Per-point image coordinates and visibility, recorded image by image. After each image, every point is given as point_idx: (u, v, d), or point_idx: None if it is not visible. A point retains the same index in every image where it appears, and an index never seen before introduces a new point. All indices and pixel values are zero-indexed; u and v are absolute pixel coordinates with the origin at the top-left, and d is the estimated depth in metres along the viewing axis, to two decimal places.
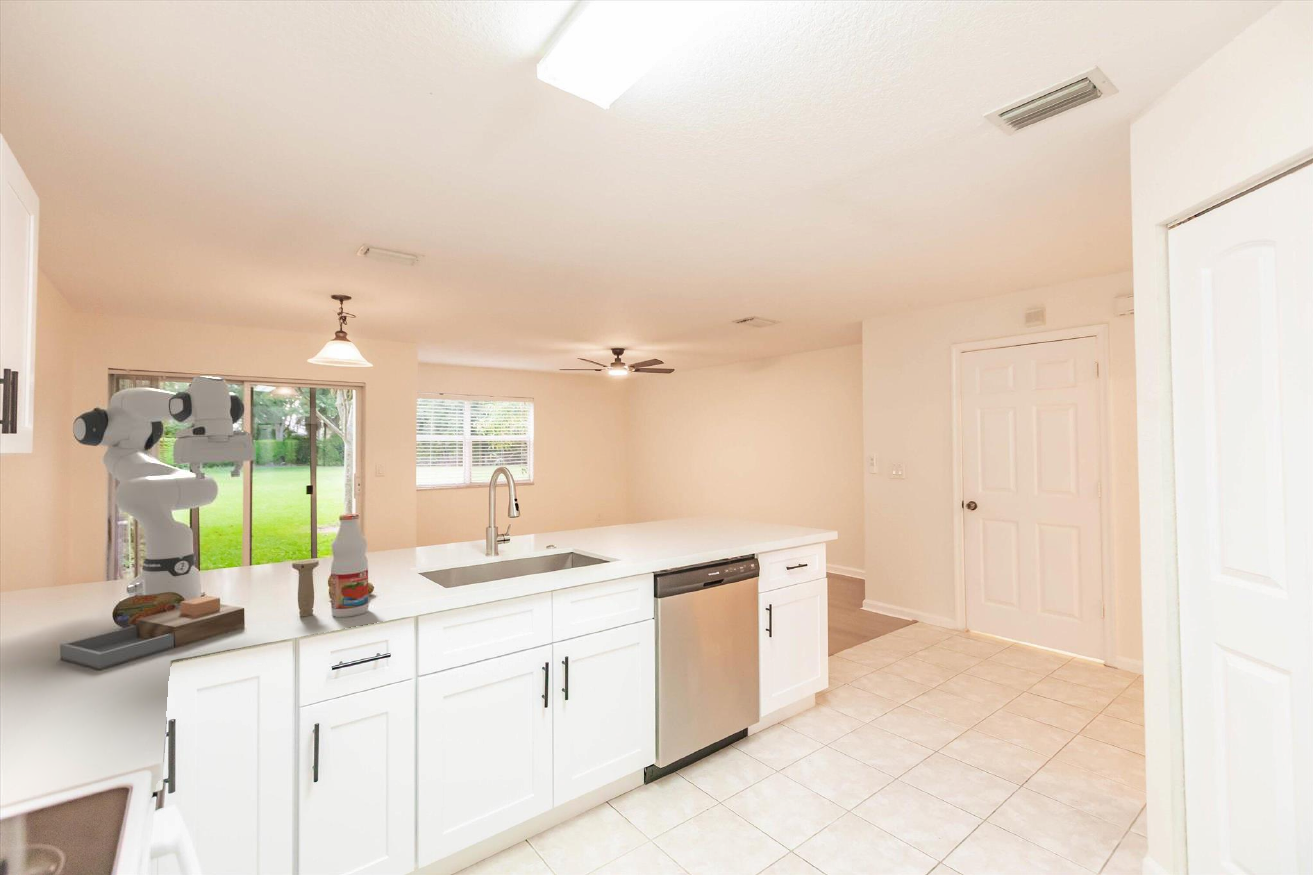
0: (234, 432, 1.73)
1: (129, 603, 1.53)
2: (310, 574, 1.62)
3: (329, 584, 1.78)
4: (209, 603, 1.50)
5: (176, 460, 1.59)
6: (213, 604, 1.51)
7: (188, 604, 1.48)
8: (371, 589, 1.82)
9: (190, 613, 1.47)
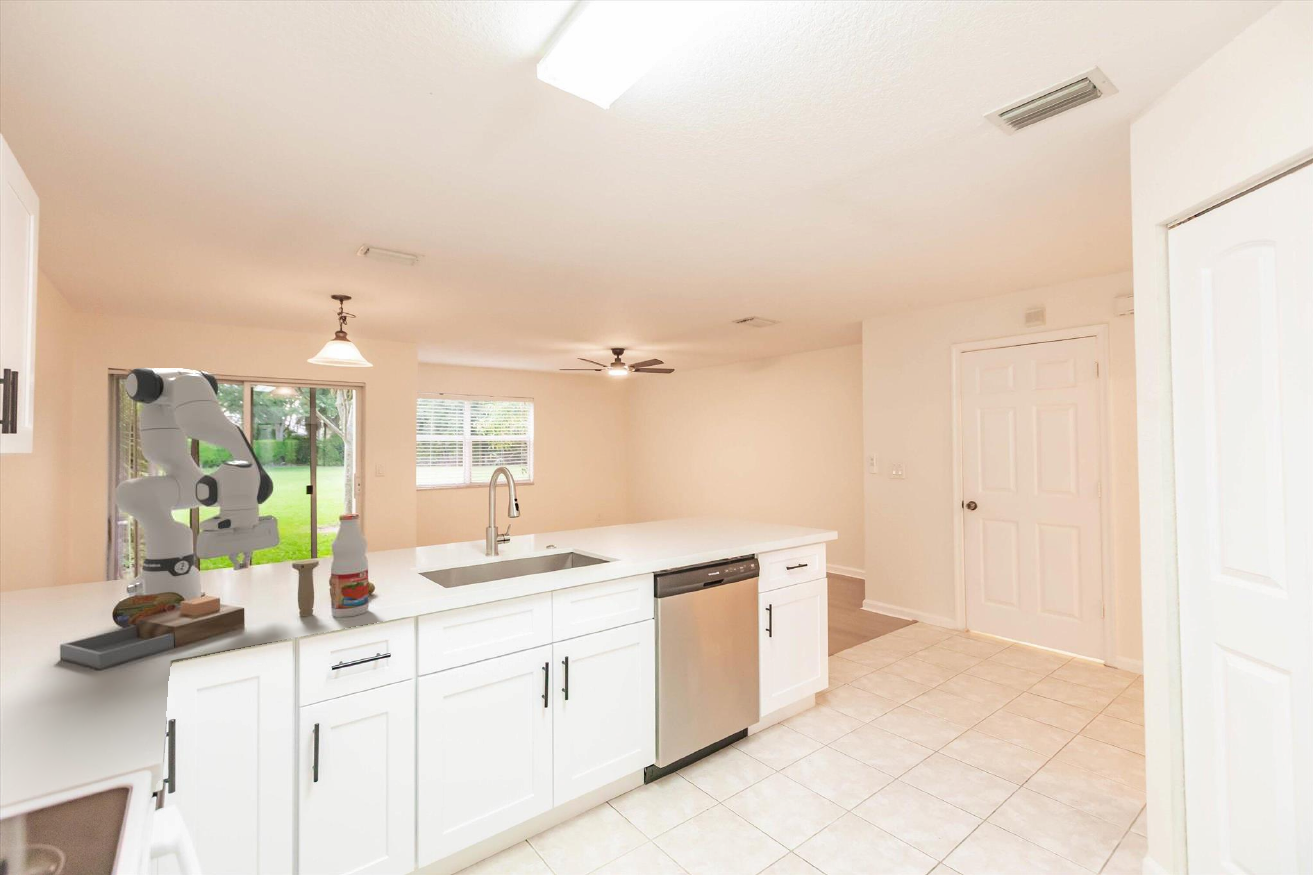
0: (259, 518, 1.64)
1: (129, 603, 1.53)
2: (310, 574, 1.62)
3: (330, 583, 1.79)
4: (209, 603, 1.50)
5: (199, 555, 1.51)
6: (213, 604, 1.51)
7: (188, 604, 1.48)
8: (372, 589, 1.82)
9: (190, 613, 1.47)
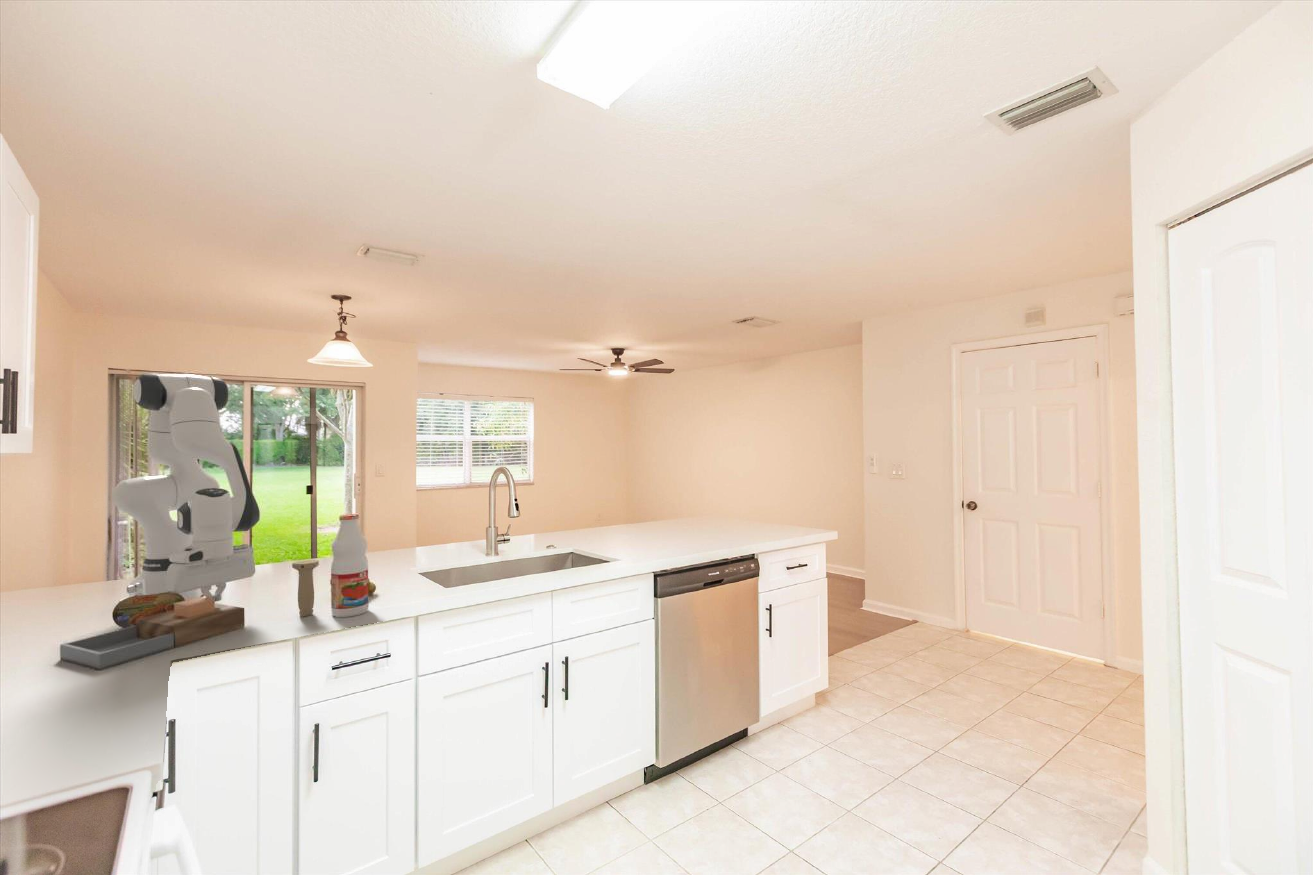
0: (234, 548, 1.58)
1: (129, 603, 1.53)
2: (310, 574, 1.62)
3: None
4: (203, 604, 1.49)
5: (168, 589, 1.44)
6: (208, 606, 1.50)
7: (182, 606, 1.46)
8: (373, 589, 1.82)
9: (184, 615, 1.46)
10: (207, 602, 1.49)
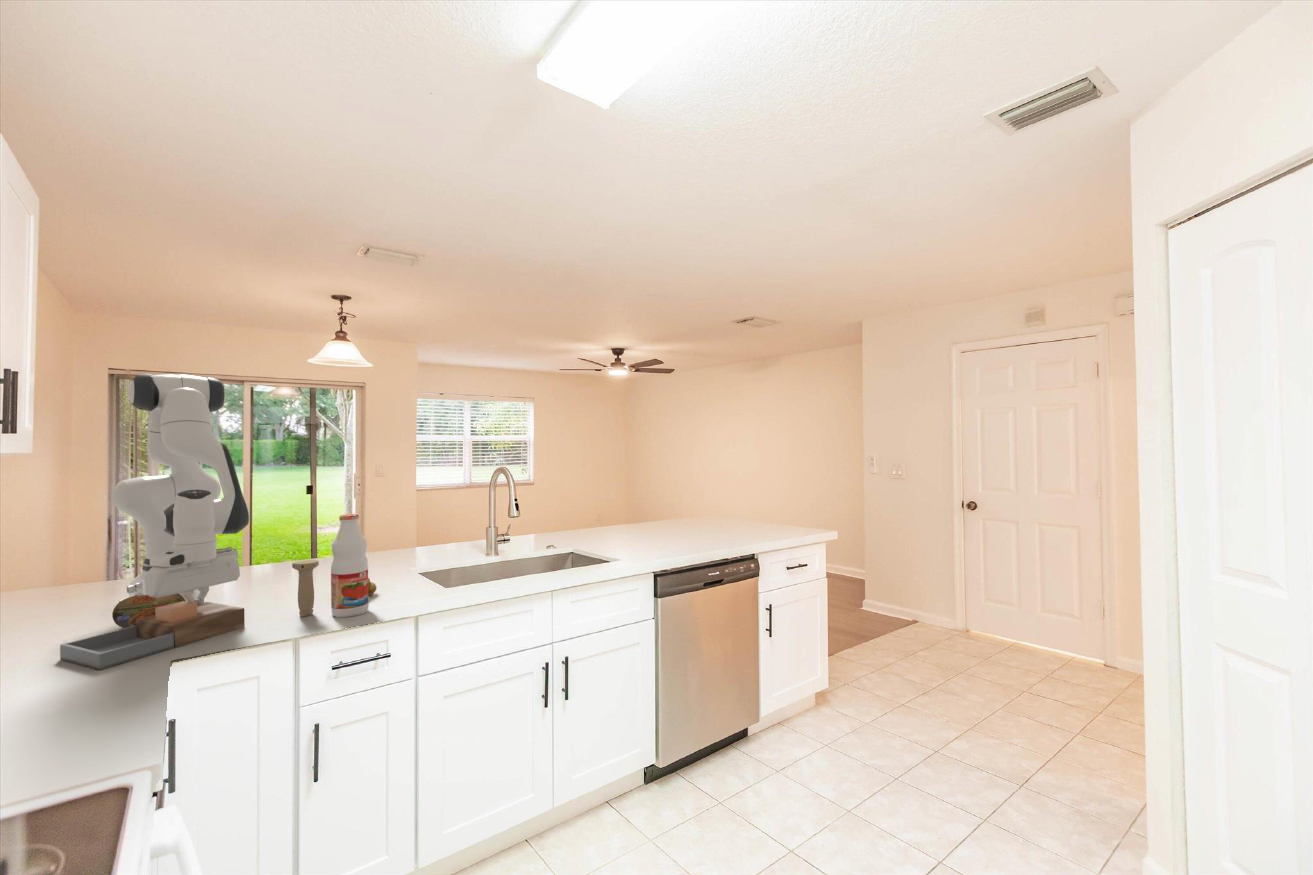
0: (218, 551, 1.54)
1: (129, 603, 1.53)
2: (310, 574, 1.62)
3: None
4: (185, 609, 1.45)
5: (149, 594, 1.41)
6: (190, 610, 1.46)
7: (163, 610, 1.43)
8: (373, 589, 1.82)
9: (165, 619, 1.42)
10: (189, 606, 1.46)
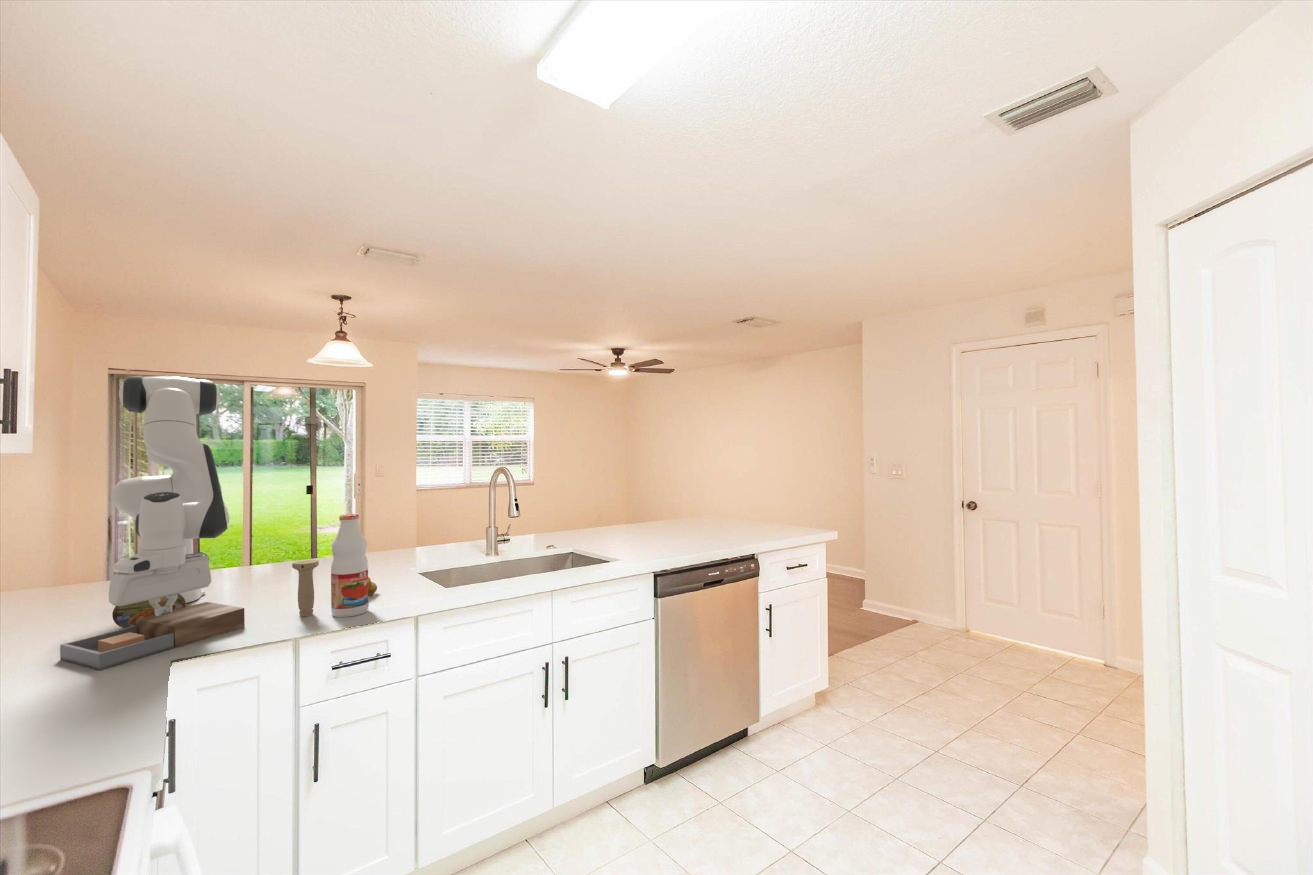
0: (187, 556, 1.48)
1: None
2: (310, 574, 1.62)
3: None
4: None
5: (111, 602, 1.34)
6: None
7: None
8: (374, 589, 1.82)
9: None
10: None
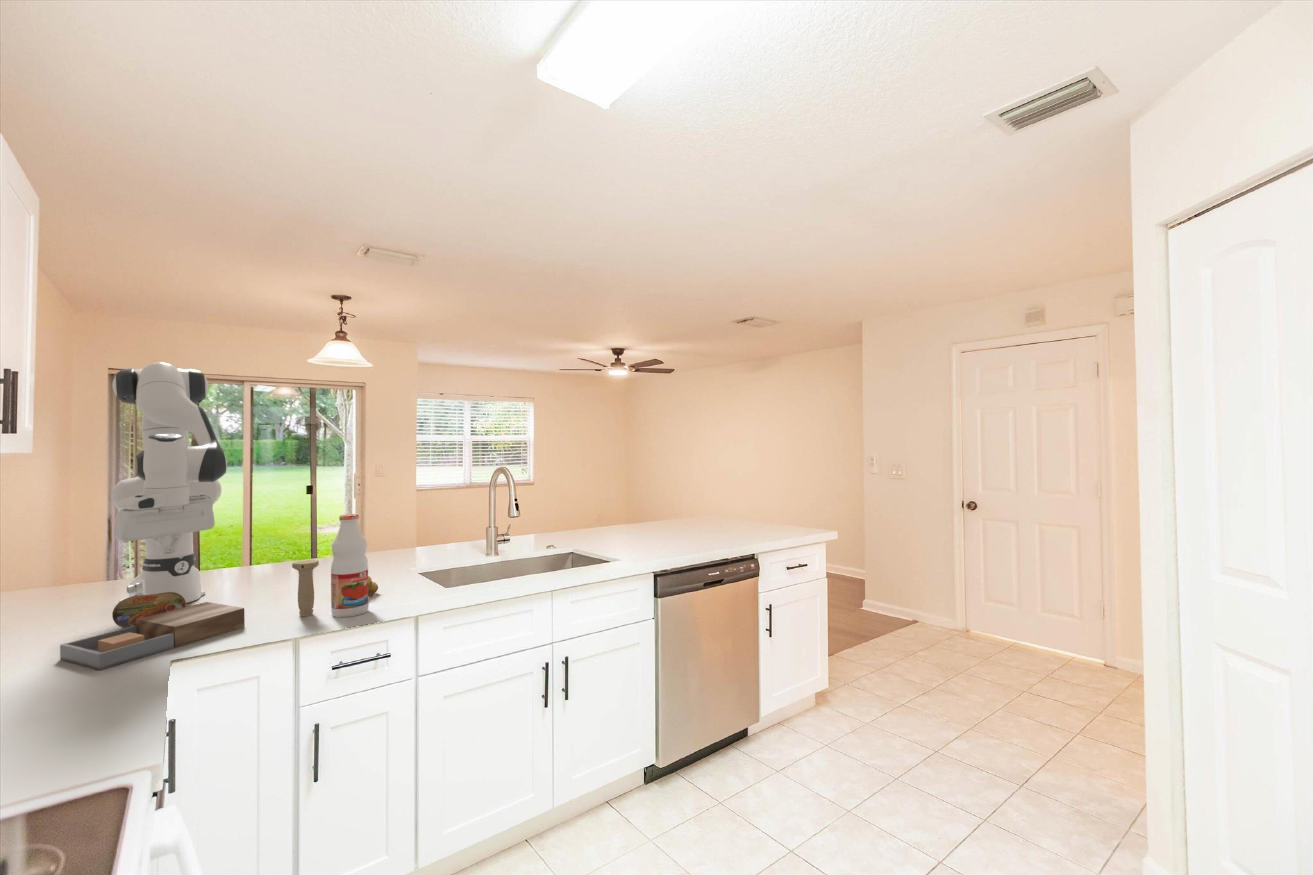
0: (191, 498, 1.49)
1: (129, 603, 1.53)
2: (310, 574, 1.62)
3: None
4: None
5: (116, 537, 1.36)
6: None
7: None
8: (375, 588, 1.83)
9: None
10: None
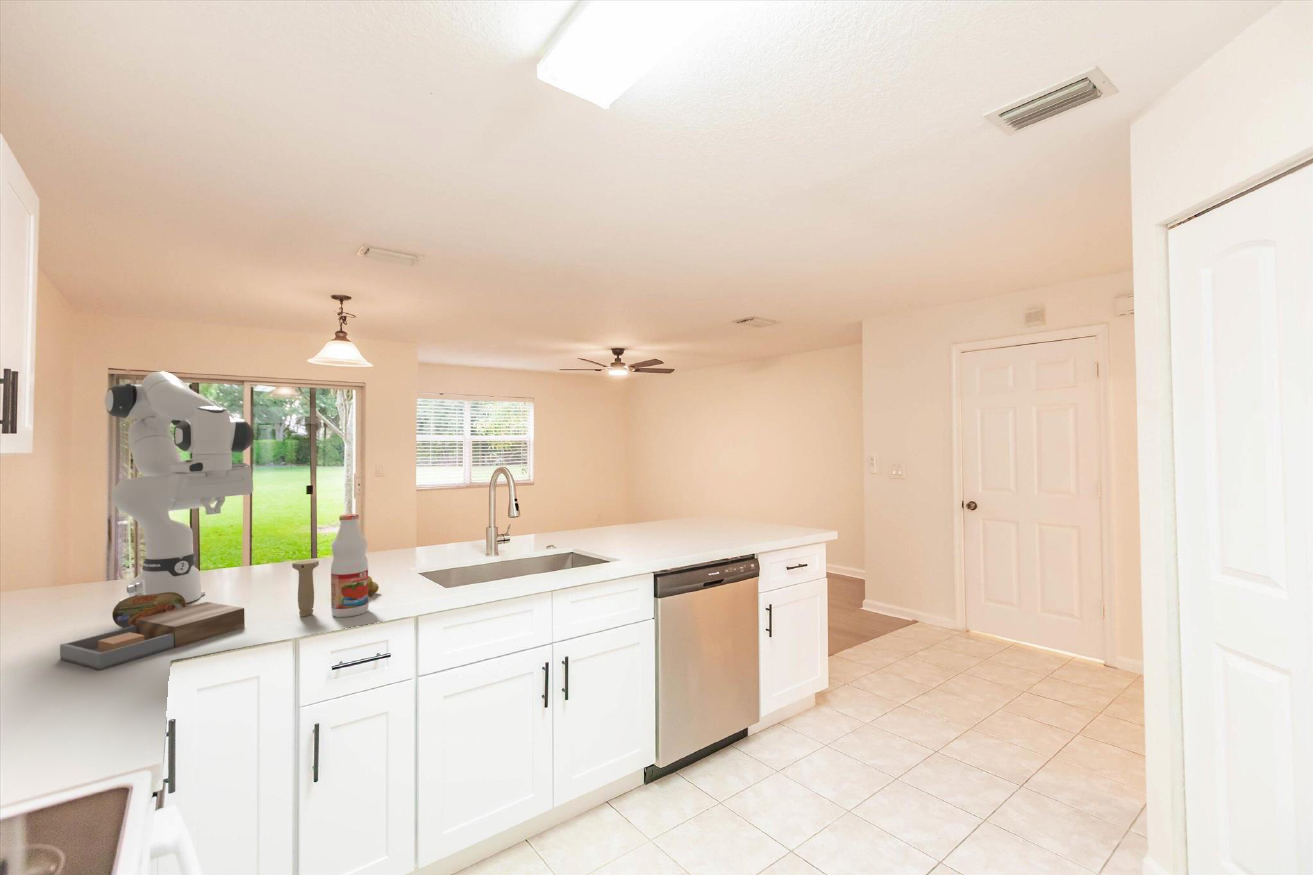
0: (233, 465, 1.65)
1: (129, 603, 1.53)
2: (310, 574, 1.62)
3: None
4: None
5: (170, 497, 1.52)
6: None
7: None
8: (375, 588, 1.83)
9: None
10: None
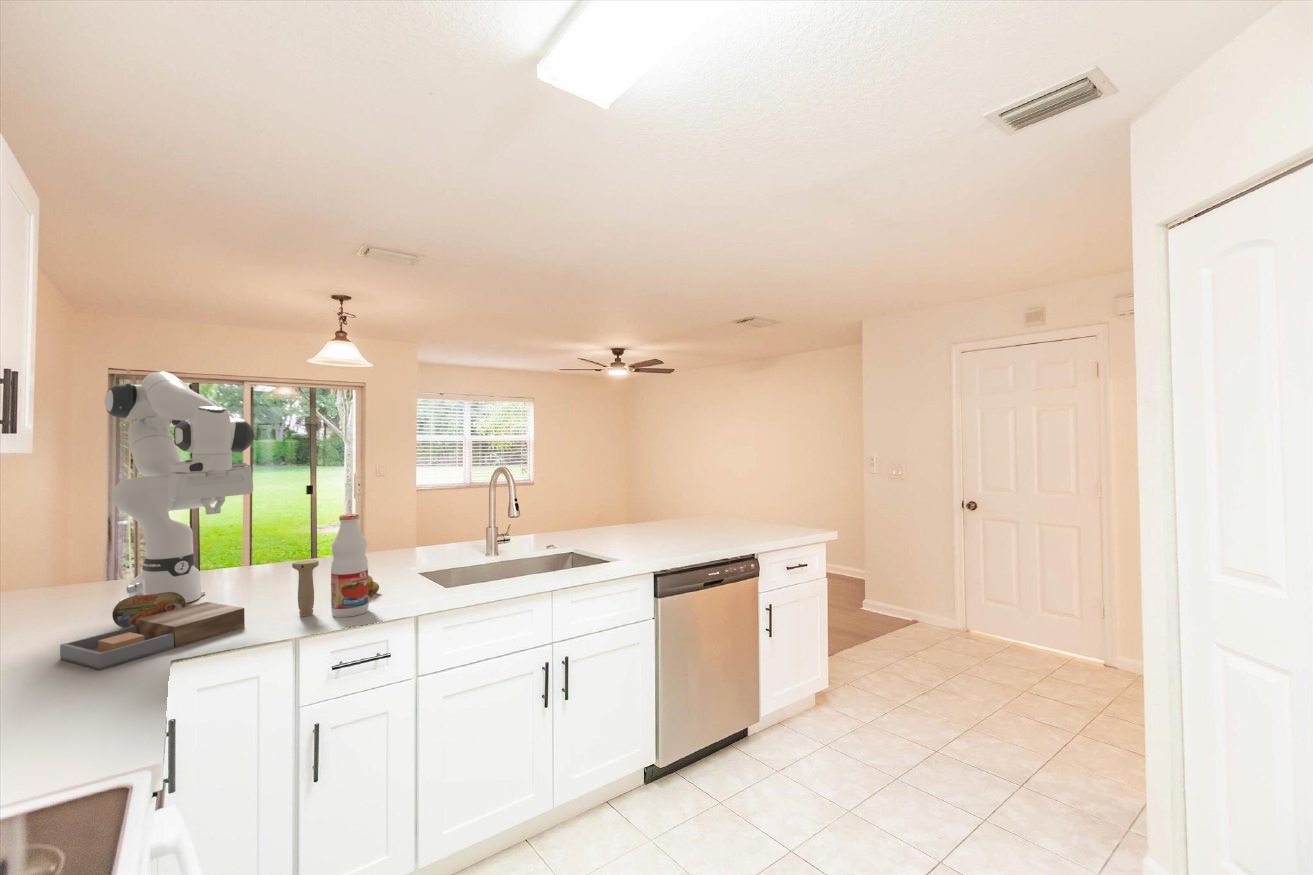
0: (233, 465, 1.65)
1: (129, 603, 1.53)
2: (310, 574, 1.62)
3: None
4: None
5: (170, 497, 1.52)
6: None
7: None
8: (376, 588, 1.83)
9: None
10: None
